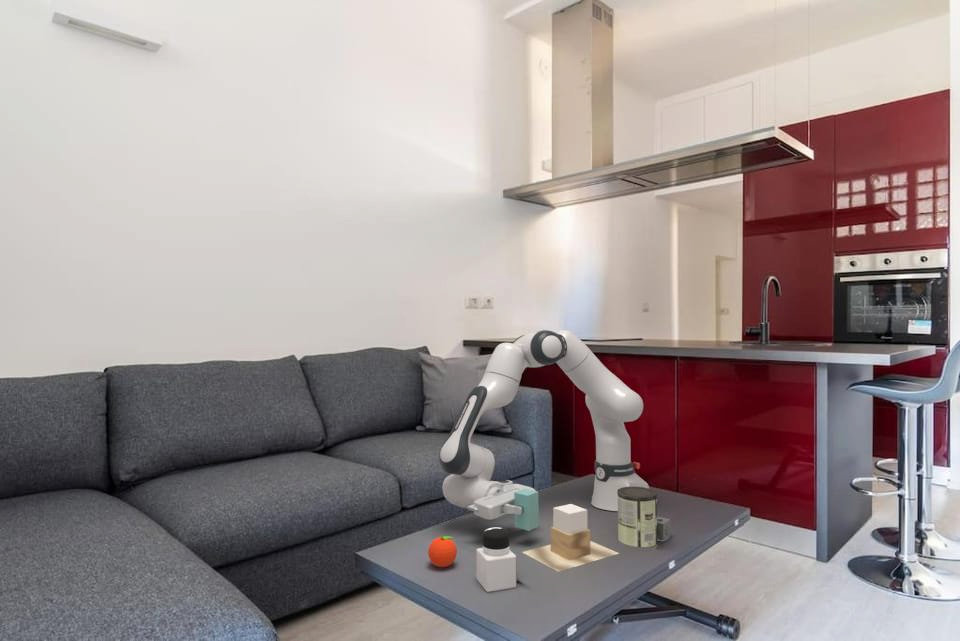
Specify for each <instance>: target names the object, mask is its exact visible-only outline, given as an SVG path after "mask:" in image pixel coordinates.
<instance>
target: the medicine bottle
mask: <svg viewBox="0 0 960 641" xmlns="http://www.w3.org/2000/svg"><path fill="white" fill-rule="evenodd" d="M475 559H476V580H477V581H478V583H479V584H480V585H481V586H482V588H483V589H484V590H485V591H486V593H491V592H497V591H502V590H508V589H515V588H517V555H516V554H515V553H513V551H511V549H510V532H509V531H508V530H507V529H506V528H502V527H489V528H486V529H485V530H484V531H483V532H482V547H478V548H476V556H475Z"/></svg>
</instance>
